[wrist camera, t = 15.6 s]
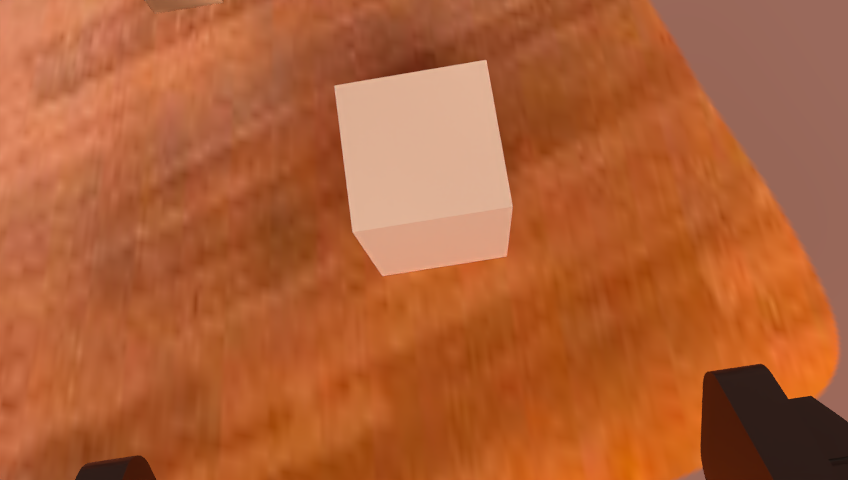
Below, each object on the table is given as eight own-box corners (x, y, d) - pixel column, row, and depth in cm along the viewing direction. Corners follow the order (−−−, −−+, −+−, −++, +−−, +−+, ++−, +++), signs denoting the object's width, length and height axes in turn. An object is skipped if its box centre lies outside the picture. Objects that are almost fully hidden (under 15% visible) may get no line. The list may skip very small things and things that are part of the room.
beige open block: (382, 276, 39) (352, 232, 30) (366, 159, 41) (334, 85, 32) (506, 256, 39) (512, 206, 30) (486, 139, 40) (486, 59, 32)
